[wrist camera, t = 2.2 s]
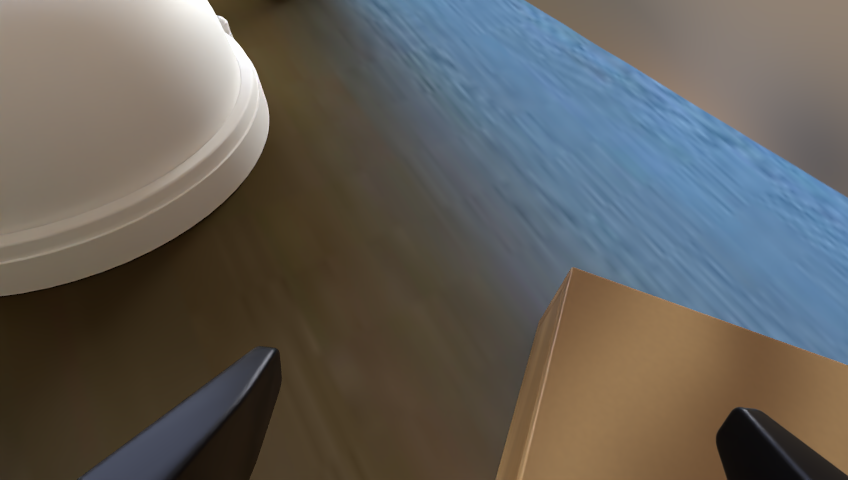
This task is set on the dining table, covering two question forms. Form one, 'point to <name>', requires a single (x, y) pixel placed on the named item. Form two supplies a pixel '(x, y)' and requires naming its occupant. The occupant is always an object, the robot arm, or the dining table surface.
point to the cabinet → (657, 389)
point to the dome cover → (116, 131)
